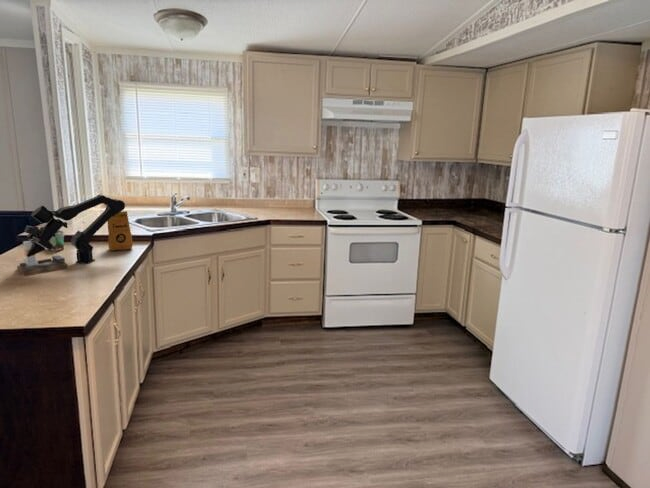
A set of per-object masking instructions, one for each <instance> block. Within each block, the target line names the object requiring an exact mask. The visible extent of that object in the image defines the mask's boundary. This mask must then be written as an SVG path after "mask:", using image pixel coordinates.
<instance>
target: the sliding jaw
mask: <svg viewBox="0 0 650 488" xmlns="http://www.w3.org/2000/svg"><path fill="white" fill-rule="evenodd" d="M22 243H23V252H24V257H25V258H24V259H23V260H22V261H23V263H24V266H25V267H31V266H37V265H38V260H37V259H36V254H35V255H32V256H30V257H28V256H27V254H28V253H29V251H30V250H31V249H32V247H33V241H29V240H24V241H22Z"/></svg>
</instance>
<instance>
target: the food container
mask: <svg viewBox="0 0 650 488" xmlns="http://www.w3.org/2000/svg"><path fill="white" fill-rule="evenodd" d="M55 235H56V236H55V237H52V238H51V239H50V241H49V242H50V243H51V244H52V245H53V247H52V249H51V250H52V251H54V252H56V253H57V252H61V251H64V249H65V245H64V243H65V242H64V241H65V240H64V237H65V232H64V231H63V230H59V231H58V232H57V233H56V234H55Z"/></svg>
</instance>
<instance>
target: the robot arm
mask: <svg viewBox="0 0 650 488" xmlns="http://www.w3.org/2000/svg"><path fill="white" fill-rule="evenodd" d="M102 204H103V205H106V207H105V209H104V211H103V212H101V214H99V216H98V217H97V218H96V219H94V221H93V222H91V224H89V225H88V227H86V228H85V229H84V230H82V231H80V230H77V231H76V232H75V233H74V235H72V236H71V239H70V243H71V246H73V247H75V249H76V261H75V263H76V264H90V263H92V262H94V261H95V260H96V259H95V258H94V257H93V249H94V246H93V245H92V244H90V243H91V240H92V238H93V236H94V235H95V234H96V233H97V232H99V230H101V228H102V227H103V226H104V225H105V224H106V223H108V222H107V221H108V220H109V219H110V218H111V217H112V216H114V215H116V214H118V213H119V212H122V211H125V208H126V204H125V202H124V201H123V200H120V199H118V198H110V197H108V196H105V195H104V194H103V195H102V194H98V195H96V196H94V197H92V198H89V199H87V200H84V201H81V202H78V203H77V204H73V205H66V206H63V207H59V208H58V209H57V210H52V211H51V210H49V209H47V207H45V206H44V205H41V206H39V207H37V208H36V209H34V210H33V211H32V213H31V215H30V216H31V217H32V218H34V219H35V220H36V221H38V222H39V223H40V224H45V225H44V226H41V227H40V228H39V227H38V226H35V225H33V226H31V225H26V226H25V229H24V230H23V232H24V233H26V234H27V235H26V237H27V238H28V241H33V247H32V249H31V250H30V251H29V253H28V254H27V256H28V257H30V256H32V255H35V256H36V254H38V253H40V252H44V251H46V250H49V251H51V250H52V247H53V245H52V244H51V243H50V239H51V238H52V237H55V236H56V235H55V234H56V233H57V232H58V231H61V229H62V228H63V227H64V228H66V229H68V221H70V220H72V219H74V218H75V217H77V216H78V215H79V214H80V213H83V212H85V211H88V210H90V209H93V208H95V207H97V206H99V205H102ZM66 221H67V222H66Z"/></svg>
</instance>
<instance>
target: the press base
mask: <svg viewBox="0 0 650 488" xmlns="http://www.w3.org/2000/svg"><path fill="white" fill-rule="evenodd" d="M65 259H66V258H65V257H63V256H61V255H52V256H51V258H46V259H40V260H39V259H38V260H37V261H38V265H37V266H31V267H25V266H24V262H21V263H19V265H16V269H17V271H18V272H20V273H21V274H22V275H24V276H29V275H34V274H35V275H36V274H41V273H47V272H53V271H57V270H58V271H59V270H63V269H64V270H65V269H68V268H69V266H68V265H69V264H68V263H67V262H66V261H65Z"/></svg>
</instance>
